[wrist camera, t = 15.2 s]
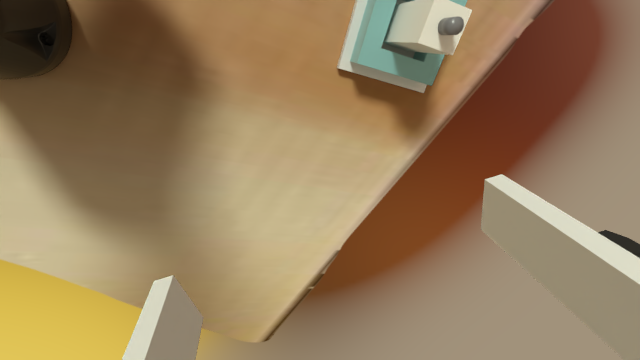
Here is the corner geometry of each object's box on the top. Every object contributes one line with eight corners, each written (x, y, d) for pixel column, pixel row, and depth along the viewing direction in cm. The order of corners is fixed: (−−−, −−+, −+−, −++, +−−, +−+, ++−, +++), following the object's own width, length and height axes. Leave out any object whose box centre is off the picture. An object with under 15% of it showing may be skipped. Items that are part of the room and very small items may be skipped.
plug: (407, 51, 41) (463, 56, 29) (380, 41, 39) (427, 43, 28) (420, 17, 39) (485, 8, 27) (392, 5, 38) (447, -8, 26)
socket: (420, 92, 45) (435, 97, 41) (336, 67, 41) (344, 70, 37) (461, -11, 39) (483, -16, 35) (369, -50, 36) (382, -61, 32)
